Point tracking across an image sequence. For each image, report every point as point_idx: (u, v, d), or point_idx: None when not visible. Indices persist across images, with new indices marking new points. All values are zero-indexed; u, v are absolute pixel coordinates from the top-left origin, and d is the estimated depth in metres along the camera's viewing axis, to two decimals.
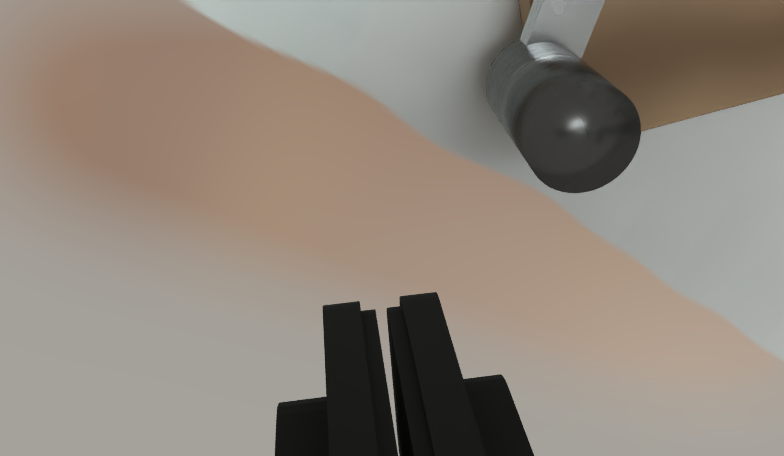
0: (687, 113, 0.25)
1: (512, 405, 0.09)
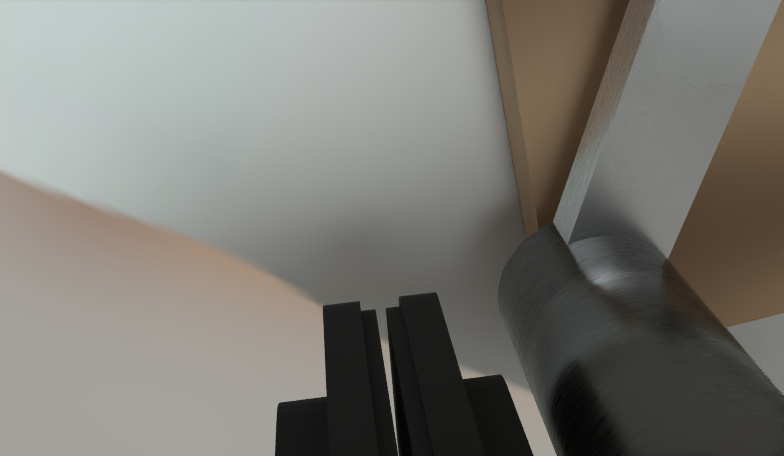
0: None
1: (512, 405, 0.09)
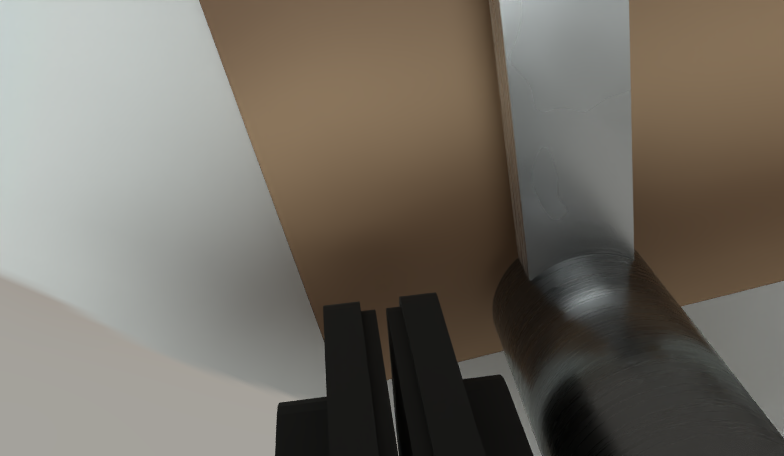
0: None
1: (512, 405, 0.09)
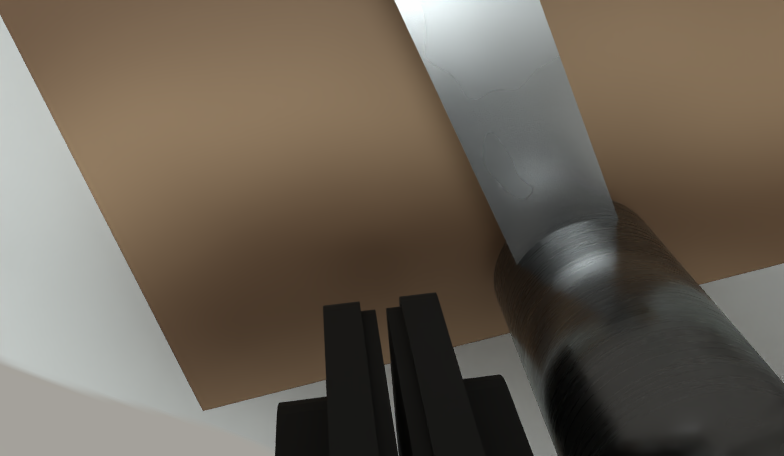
0: None
1: (512, 405, 0.09)
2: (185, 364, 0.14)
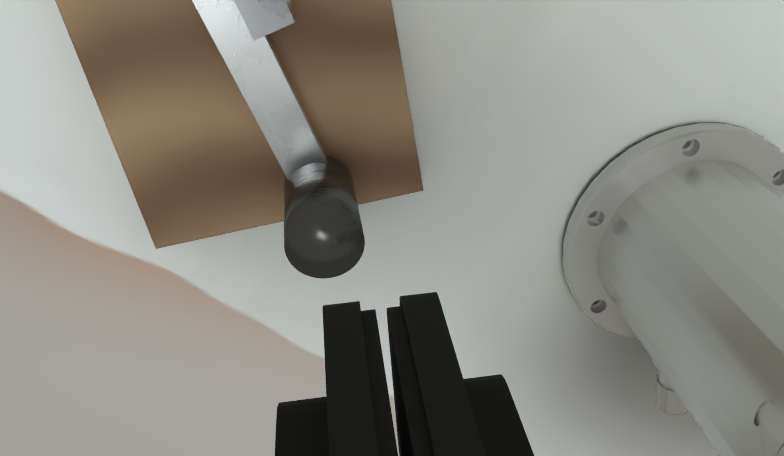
0: (259, 222, 0.32)
1: (513, 406, 0.09)
2: (149, 224, 0.32)
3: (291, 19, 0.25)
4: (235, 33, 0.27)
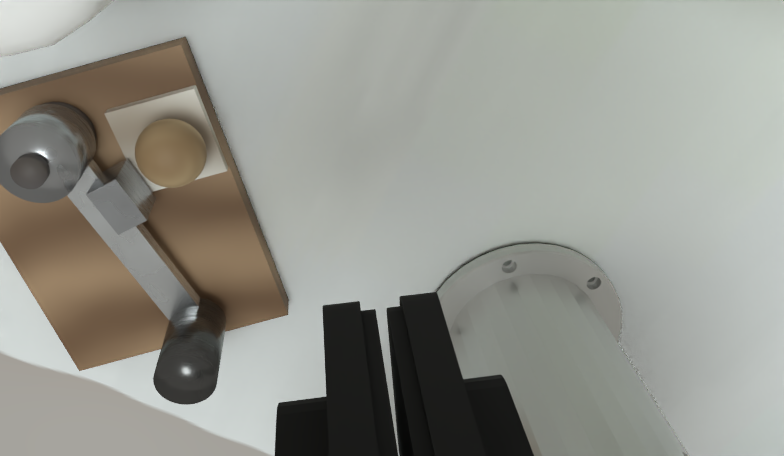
0: (158, 346, 0.41)
1: (512, 405, 0.09)
2: (71, 353, 0.40)
3: (144, 218, 0.33)
4: None
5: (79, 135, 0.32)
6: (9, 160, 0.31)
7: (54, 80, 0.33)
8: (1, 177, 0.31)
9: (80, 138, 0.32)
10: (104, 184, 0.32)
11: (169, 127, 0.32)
